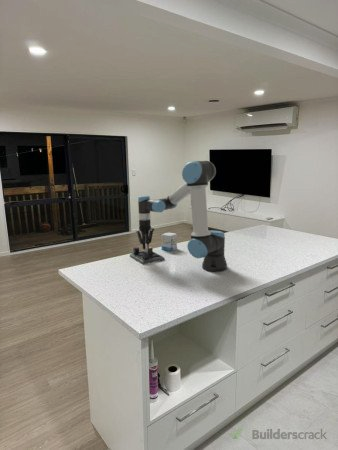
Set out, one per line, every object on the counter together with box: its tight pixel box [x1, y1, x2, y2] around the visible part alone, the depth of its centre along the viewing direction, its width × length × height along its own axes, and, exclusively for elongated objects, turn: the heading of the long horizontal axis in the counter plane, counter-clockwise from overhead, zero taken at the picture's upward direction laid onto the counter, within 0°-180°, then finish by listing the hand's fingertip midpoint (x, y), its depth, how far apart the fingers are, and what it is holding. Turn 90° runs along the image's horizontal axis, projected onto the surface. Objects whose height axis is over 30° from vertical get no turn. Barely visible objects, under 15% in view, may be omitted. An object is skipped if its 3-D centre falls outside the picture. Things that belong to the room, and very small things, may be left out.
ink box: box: [161, 232, 178, 252], centre depth 234 cm, size 9×8×12 cm
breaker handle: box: [148, 246, 154, 255], centre depth 215 cm, size 3×3×5 cm
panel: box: [129, 246, 166, 265], centre depth 214 cm, size 20×16×6 cm
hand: (145, 253), depth 214 cm, fingers closed
